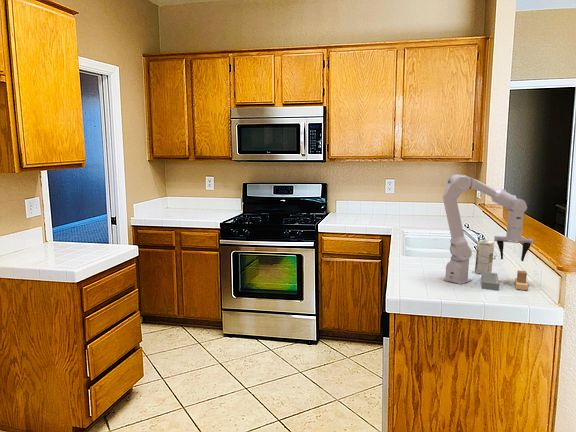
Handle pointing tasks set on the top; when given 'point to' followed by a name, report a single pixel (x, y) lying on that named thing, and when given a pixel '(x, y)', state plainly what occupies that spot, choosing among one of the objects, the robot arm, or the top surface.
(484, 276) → the grey block
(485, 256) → the syrup box
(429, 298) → the top surface
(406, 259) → the top surface
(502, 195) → the robot arm
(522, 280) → the stub
